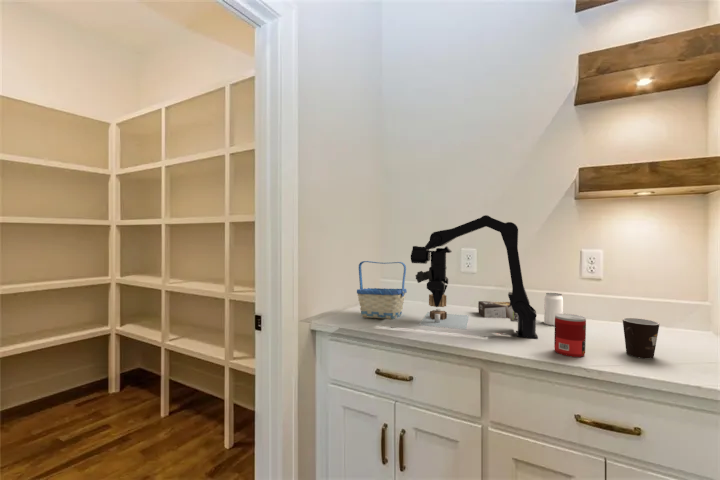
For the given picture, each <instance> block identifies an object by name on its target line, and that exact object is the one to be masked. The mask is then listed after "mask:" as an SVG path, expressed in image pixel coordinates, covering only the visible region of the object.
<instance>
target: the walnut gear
mask: <svg viewBox="0 0 720 480" xmlns="http://www.w3.org/2000/svg"><path fill="white" fill-rule="evenodd" d="M429 312H430V318H431V319H435V314H440V319H442V320H444V319H447V314H448V313H447V311H446V310H441V309H440V308H437V309H433V310H430V311H429Z"/></svg>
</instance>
